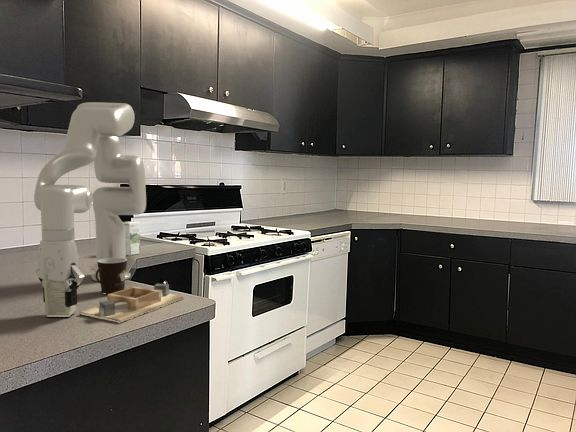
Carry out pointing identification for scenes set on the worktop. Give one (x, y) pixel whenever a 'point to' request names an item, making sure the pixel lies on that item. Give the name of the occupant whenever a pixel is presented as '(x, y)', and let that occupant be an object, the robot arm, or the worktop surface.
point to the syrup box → (132, 237)
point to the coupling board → (133, 302)
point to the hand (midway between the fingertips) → (60, 303)
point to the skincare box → (56, 297)
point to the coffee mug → (111, 274)
